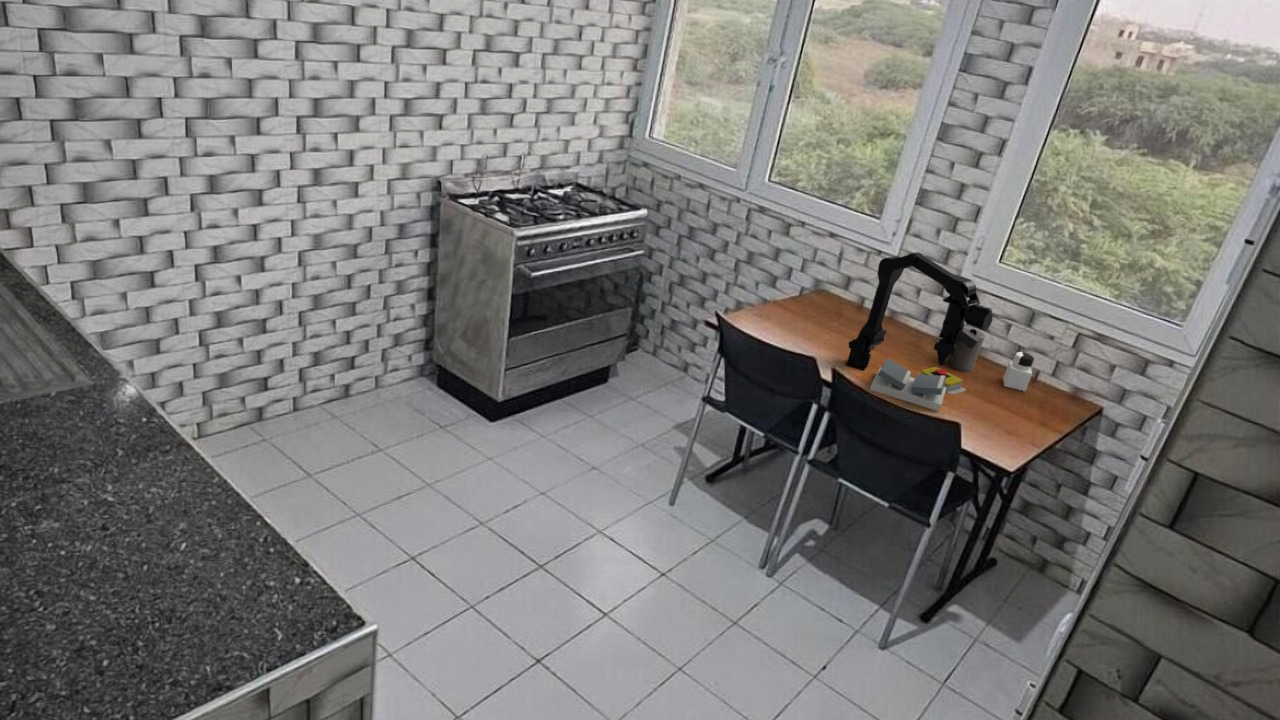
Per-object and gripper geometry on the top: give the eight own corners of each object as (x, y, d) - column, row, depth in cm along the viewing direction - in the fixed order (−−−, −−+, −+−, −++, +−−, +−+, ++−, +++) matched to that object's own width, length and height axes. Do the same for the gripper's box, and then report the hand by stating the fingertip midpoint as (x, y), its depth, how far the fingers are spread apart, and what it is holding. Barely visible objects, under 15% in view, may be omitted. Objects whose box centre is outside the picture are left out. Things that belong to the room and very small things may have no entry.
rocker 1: (877, 374, 270) (881, 369, 269) (884, 362, 280) (887, 357, 279) (902, 390, 268) (906, 384, 267) (908, 377, 278) (911, 372, 277)
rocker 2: (911, 392, 267) (911, 386, 266) (916, 379, 277) (916, 373, 276) (941, 394, 263) (941, 388, 262) (945, 381, 273) (945, 375, 273)
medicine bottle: (1023, 384, 296) (1035, 353, 292) (1025, 392, 290) (1037, 360, 285) (1002, 378, 298) (1014, 348, 293) (1003, 386, 292) (1015, 355, 287)
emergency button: (933, 361, 292) (970, 380, 282) (929, 372, 294) (966, 391, 284) (917, 365, 287) (955, 384, 277) (914, 377, 289) (951, 396, 278)
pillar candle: (943, 366, 301) (957, 328, 294) (947, 357, 309) (960, 320, 303) (971, 374, 297) (985, 336, 291) (974, 365, 306) (988, 328, 299)
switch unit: (870, 389, 272) (873, 379, 270) (878, 374, 285) (881, 364, 283) (938, 411, 265) (942, 400, 263) (944, 394, 277) (947, 384, 276)
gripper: (978, 334, 249) (963, 382, 255) (984, 318, 265) (969, 363, 271) (940, 324, 253) (926, 371, 259) (948, 308, 269) (934, 353, 275)
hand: (940, 364), depth 266 cm, fingers closed
